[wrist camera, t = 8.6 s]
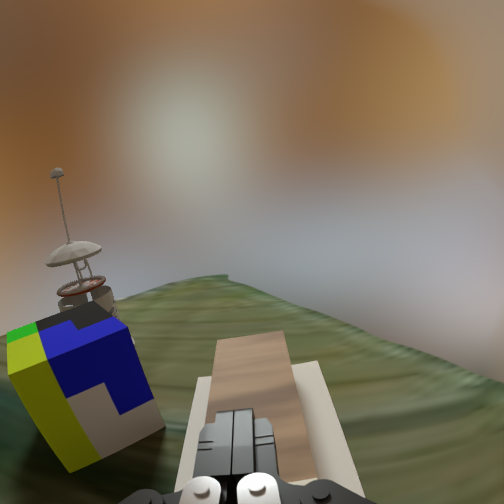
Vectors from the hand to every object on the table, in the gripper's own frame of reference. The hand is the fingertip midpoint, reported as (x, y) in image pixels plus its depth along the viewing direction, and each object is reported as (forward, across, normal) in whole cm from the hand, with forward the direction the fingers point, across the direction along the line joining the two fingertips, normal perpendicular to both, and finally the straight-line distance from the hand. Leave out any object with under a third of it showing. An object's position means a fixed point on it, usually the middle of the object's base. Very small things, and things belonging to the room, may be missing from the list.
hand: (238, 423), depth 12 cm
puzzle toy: (+10, +15, +9) cm, 21 cm away
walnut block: (-2, 0, +6) cm, 7 cm away
